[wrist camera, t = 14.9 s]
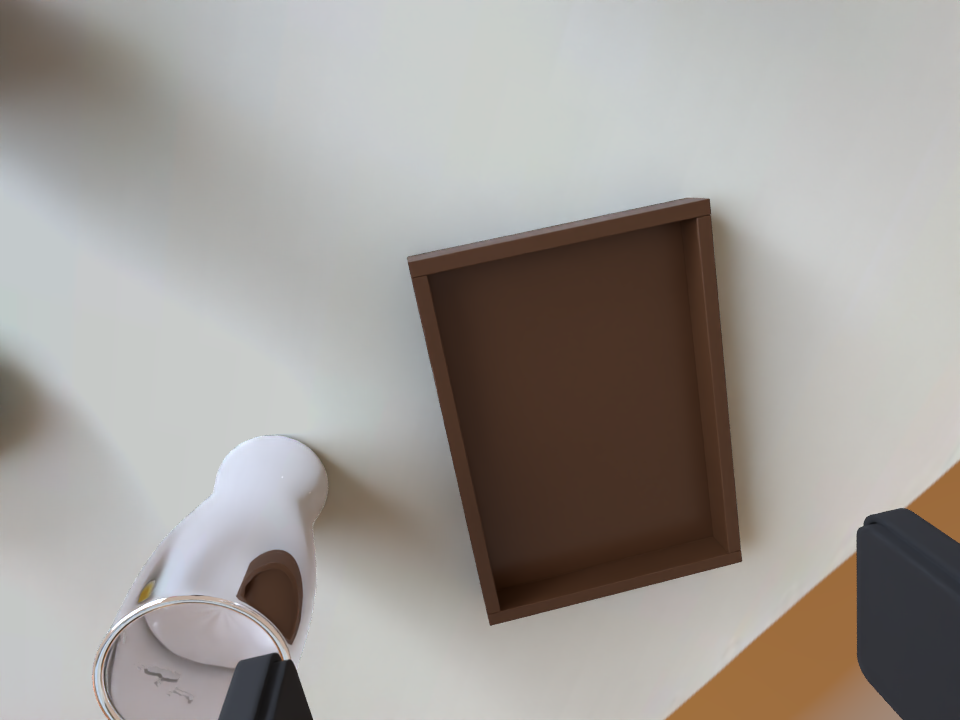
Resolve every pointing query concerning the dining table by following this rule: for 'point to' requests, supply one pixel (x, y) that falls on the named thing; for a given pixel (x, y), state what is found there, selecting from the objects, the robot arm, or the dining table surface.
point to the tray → (585, 404)
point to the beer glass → (219, 589)
